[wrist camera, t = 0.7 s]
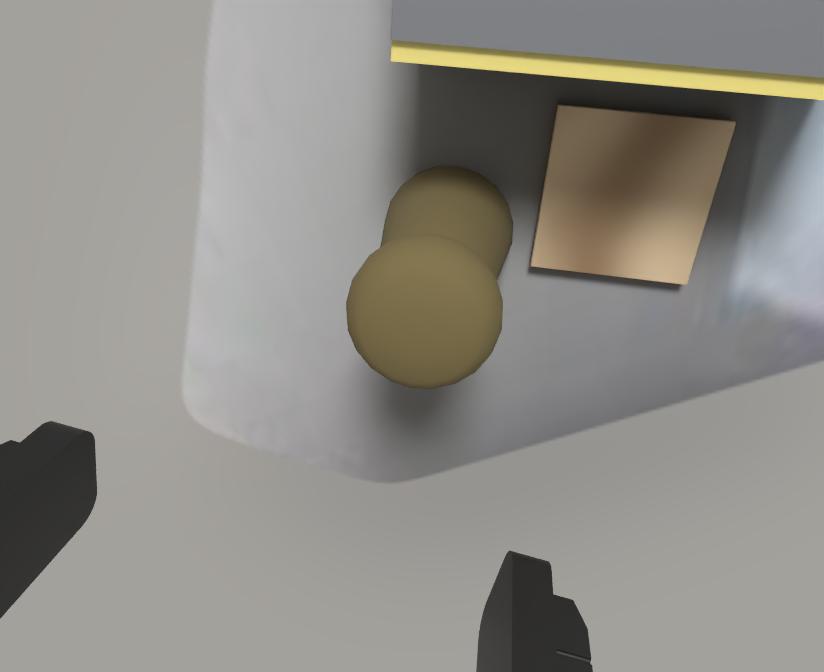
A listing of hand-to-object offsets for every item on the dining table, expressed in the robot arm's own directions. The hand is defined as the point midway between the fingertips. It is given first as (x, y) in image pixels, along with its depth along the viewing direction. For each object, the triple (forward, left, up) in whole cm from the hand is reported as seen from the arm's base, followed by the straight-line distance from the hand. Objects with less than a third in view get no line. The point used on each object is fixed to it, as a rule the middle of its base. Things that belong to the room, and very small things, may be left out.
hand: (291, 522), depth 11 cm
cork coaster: (-9, -3, -19) cm, 21 cm away
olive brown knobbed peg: (-1, 0, -20) cm, 20 cm away
